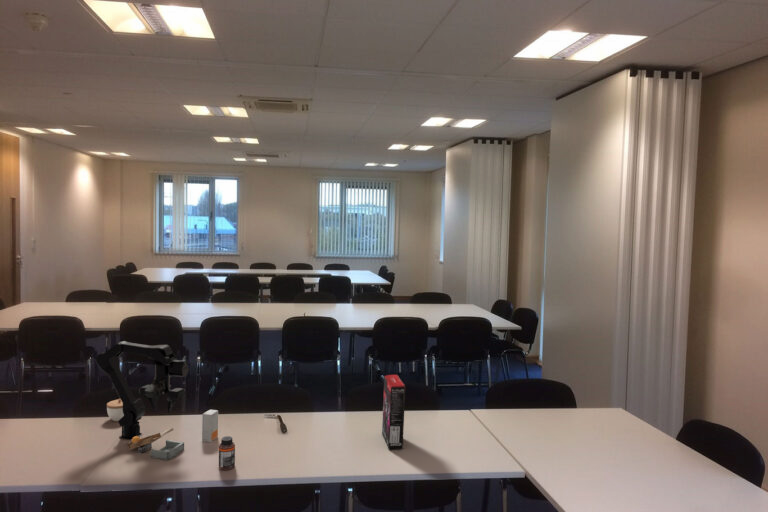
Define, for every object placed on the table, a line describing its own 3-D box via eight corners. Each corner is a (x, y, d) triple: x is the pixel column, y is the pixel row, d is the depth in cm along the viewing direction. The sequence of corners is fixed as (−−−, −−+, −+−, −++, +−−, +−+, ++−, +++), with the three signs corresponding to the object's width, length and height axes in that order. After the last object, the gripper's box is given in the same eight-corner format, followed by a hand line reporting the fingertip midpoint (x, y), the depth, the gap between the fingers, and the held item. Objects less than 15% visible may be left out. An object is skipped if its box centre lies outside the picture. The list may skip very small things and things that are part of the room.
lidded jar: (125, 423, 235) (125, 403, 235) (101, 422, 236) (101, 402, 235) (136, 414, 246) (136, 395, 246) (114, 414, 246) (114, 395, 246)
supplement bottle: (220, 463, 198) (220, 434, 197) (236, 463, 199) (236, 434, 198) (216, 470, 192) (217, 441, 192) (233, 470, 193) (233, 441, 192)
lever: (129, 449, 207) (127, 444, 207) (150, 437, 219) (148, 431, 219) (153, 442, 204) (151, 436, 204) (173, 429, 217) (171, 424, 217)
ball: (129, 445, 208) (129, 437, 207) (135, 442, 211) (135, 434, 211) (136, 446, 207) (136, 438, 207) (142, 442, 210) (141, 435, 210)
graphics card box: (381, 434, 231) (382, 374, 229) (396, 433, 232) (397, 374, 230) (388, 450, 214) (390, 386, 212) (404, 449, 215) (406, 385, 214)
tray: (150, 457, 202) (150, 450, 201) (166, 447, 211) (166, 440, 211) (168, 460, 200) (168, 452, 200) (184, 449, 210) (184, 442, 209)
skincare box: (211, 442, 217) (211, 414, 216) (201, 441, 218) (202, 414, 217) (218, 437, 223) (218, 410, 222) (209, 436, 224) (209, 409, 223)
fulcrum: (138, 453, 205) (138, 447, 205) (148, 447, 211) (148, 441, 211) (141, 453, 205) (141, 447, 205) (151, 447, 211) (151, 441, 211)
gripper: (130, 378, 213) (129, 415, 213) (169, 382, 208) (169, 420, 209) (148, 371, 223) (147, 406, 224) (186, 375, 219) (185, 411, 220)
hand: (162, 411), depth 219 cm, fingers open, 7 cm apart
